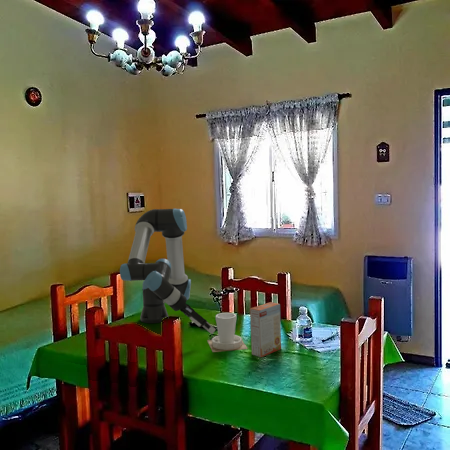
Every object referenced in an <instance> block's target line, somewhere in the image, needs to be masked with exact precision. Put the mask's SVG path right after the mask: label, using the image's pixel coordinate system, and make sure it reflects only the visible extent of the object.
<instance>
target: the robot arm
mask: <svg viewBox="0 0 450 450" xmlns="http://www.w3.org/2000/svg"><path fill="white" fill-rule="evenodd" d="M187 230H188V224H187V217H186V213H185V211H184V210H183V208H159V209H158V208H154V209H150V210H148V211H145V213H143V214H142V215H141V216H140V217H139V218H138V220H136V223H135V226H134V232H135V233H134V237H133V242H132V245H131V248H130V252H129V256H128V260H127V263H126V262H125V263H122V264H121V265H120V268H119V275H120V279H121V280H122V281H125V282H126V281H127V282H128V281H129V282H132V281H133V282H134V281H137V282H138V281H142V287H141V288H142V306H143V307H142V310H141V314H140V322H141V323H145V324H158V323H159V324H160V323H162V322H161V321H162V319H163V318H165V317H168V318H169V314H168V311H167V308H166V306H165V305H168V306H169V307H170V308H171V310H173V311H174V312H178V311H180V312H181V313H183V314H184V316H187V318H189V320H191V321H192V322H193V323H194V324H195V325H197V326H198V327H203V328H204V329H205V330H206V331H207V332H208V333H210V334H211V335H213V334H214V333H215V331H216V328H215V327H214V326H213V325H212V324H210V323H209V322H208V320H207V319H205V318H204V317H203V316H202V315H200V314H199V313H198V312H197V311H195V309H193V308H192V307H191V305H190V304H187V301H188V300H189V299H190V297H191V287H192V279H191V278H188V277H189V276H188V275H187V274H186V273H185V259H184V247H183V236H184V235H185V232H187ZM159 232H161V236H162V237H163V238H164V239H165V249H166V257H167V259H166V258H159V259H158V260H156V261H155V262H154V263H153V262H151V263H149V262H148V263H146V259H147V258H146V257H147V253H148V250H149V245H150V241H151V236H153V234H154V233H159Z"/></svg>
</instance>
